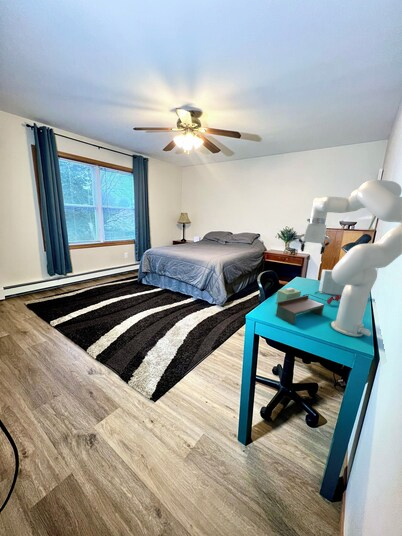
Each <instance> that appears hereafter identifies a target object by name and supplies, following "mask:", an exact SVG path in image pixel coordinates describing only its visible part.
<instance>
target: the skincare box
mask: <svg viewBox="0 0 402 536" xmlns="http://www.w3.org/2000/svg"><path fill="white" fill-rule="evenodd" d="M332 270H333V269H322V270H321V274H320V281H319V285H318V292H319V291H322V292H319V293H320V294H322V295H329V294H331V295H334V296H335V295H340V296H342V292H343V289H344V287H345V286H346V285H340V284H337V283H336V282H335V281H334V280H333V279H332ZM323 292H325V293H323ZM326 293H328V294H326Z"/></svg>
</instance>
